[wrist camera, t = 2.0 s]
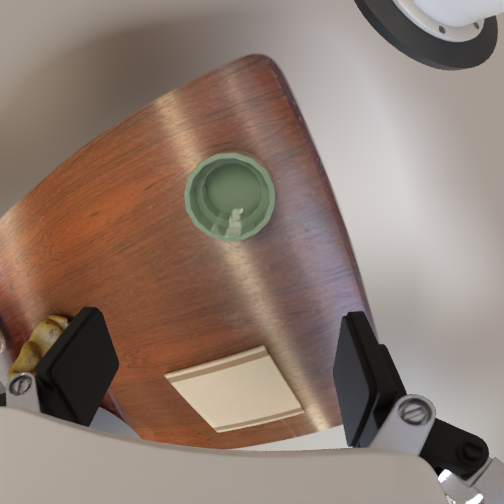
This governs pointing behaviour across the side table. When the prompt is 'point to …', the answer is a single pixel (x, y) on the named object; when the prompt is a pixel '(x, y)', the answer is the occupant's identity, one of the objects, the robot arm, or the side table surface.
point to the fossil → (2, 341)
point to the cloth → (237, 390)
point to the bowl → (230, 195)
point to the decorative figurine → (38, 344)
